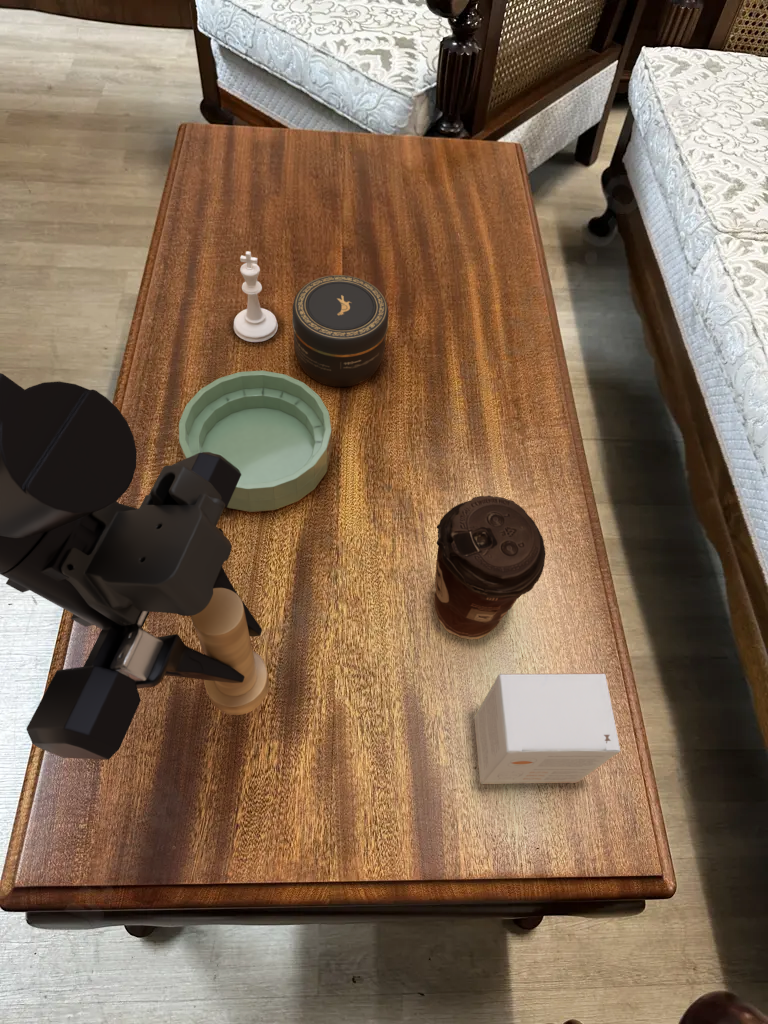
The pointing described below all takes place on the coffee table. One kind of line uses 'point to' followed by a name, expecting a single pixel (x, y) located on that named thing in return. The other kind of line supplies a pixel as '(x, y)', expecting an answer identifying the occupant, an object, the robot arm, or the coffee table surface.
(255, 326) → the chess piece
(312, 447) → the bowl
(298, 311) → the jar
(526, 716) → the small box
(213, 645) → the muddler
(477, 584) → the coffee cup
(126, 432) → the robot arm
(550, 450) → the coffee table surface
